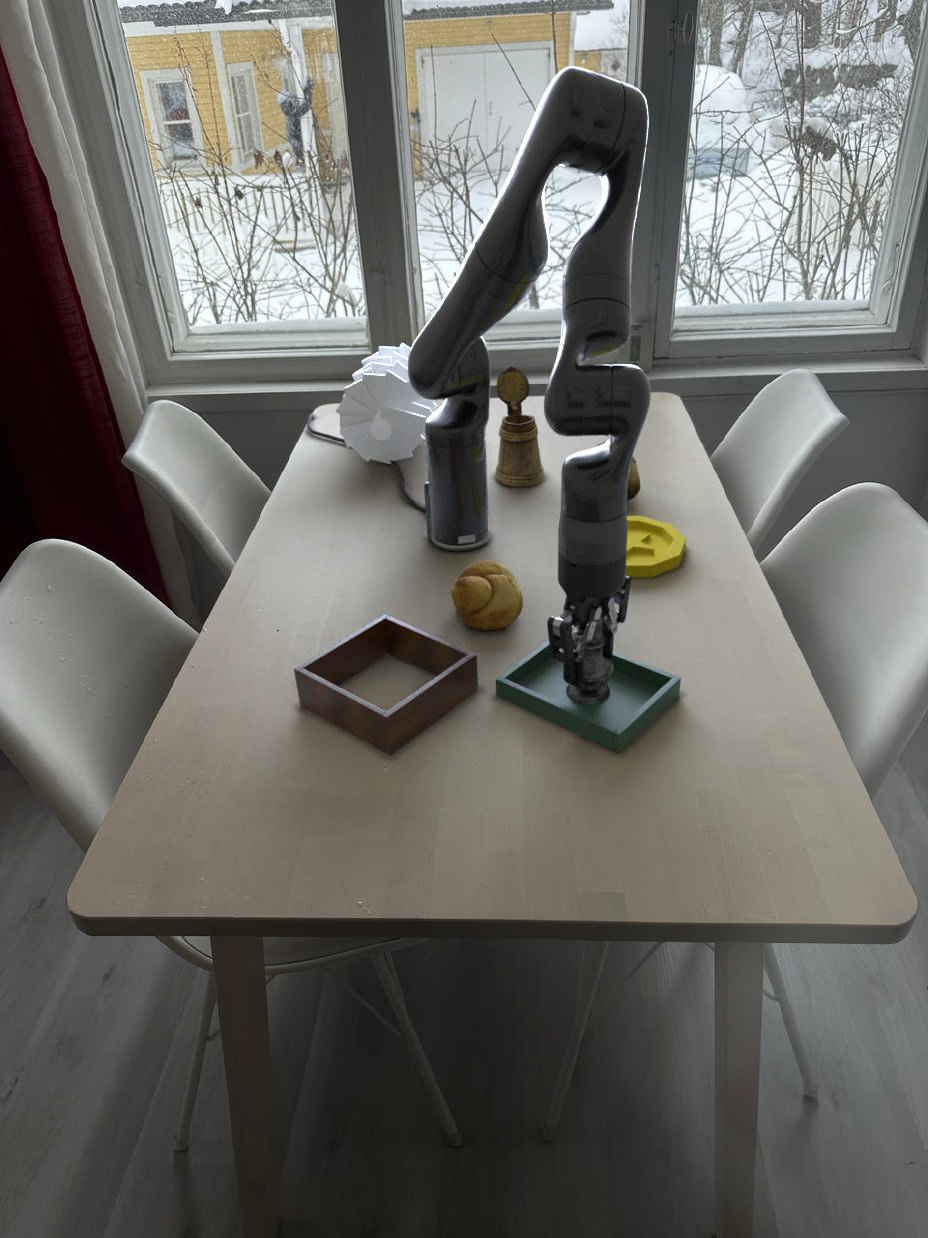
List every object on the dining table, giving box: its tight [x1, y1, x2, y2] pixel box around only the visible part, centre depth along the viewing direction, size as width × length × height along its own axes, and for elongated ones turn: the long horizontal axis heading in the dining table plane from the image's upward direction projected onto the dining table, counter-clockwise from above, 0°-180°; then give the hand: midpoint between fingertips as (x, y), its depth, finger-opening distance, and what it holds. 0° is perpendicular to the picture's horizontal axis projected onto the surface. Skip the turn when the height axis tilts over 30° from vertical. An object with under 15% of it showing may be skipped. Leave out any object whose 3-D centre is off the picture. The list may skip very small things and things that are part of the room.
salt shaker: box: [566, 618, 614, 704], centre depth 109 cm, size 6×6×12 cm
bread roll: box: [450, 559, 524, 631], centre depth 128 cm, size 13×10×8 cm
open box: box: [293, 614, 479, 757], centre depth 112 cm, size 16×16×6 cm
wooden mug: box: [494, 366, 545, 487], centre depth 167 cm, size 9×14×18 cm, turn 6°
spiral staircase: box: [335, 342, 438, 465], centre depth 182 cm, size 18×18×25 cm
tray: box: [495, 639, 682, 753], centre depth 112 cm, size 18×14×3 cm
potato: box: [594, 440, 642, 501], centre depth 161 cm, size 8×13×8 cm, turn 175°
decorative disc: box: [625, 515, 687, 578], centre depth 143 cm, size 17×18×2 cm
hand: (588, 670), depth 111 cm, fingers closed on salt shaker, 6 cm apart
